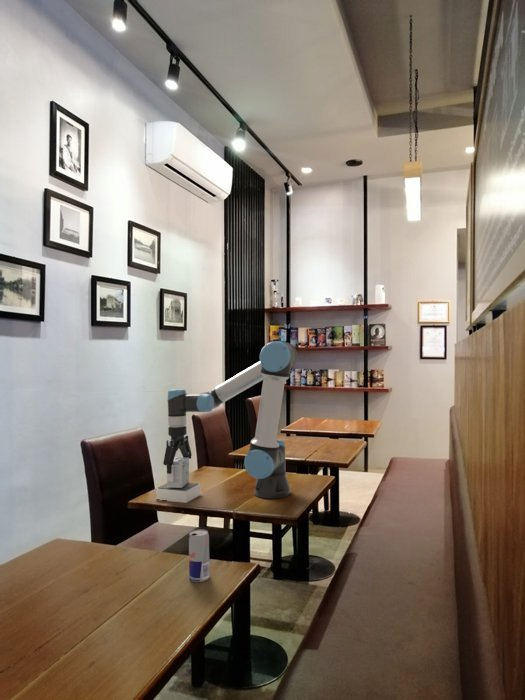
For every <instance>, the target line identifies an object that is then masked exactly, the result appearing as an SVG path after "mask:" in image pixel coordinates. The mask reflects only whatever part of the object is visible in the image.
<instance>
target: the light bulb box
mask: <svg viewBox="0 0 525 700" xmlns="http://www.w3.org/2000/svg"><path fill="white" fill-rule="evenodd" d="M172 465H174V481H173V482H171V481H167V480H166V481H167V483H166V484H167V487H172V488H182V487H183V486H185V485H186V484H187V483H190V482H189V481H190V459H189V457H183V456H182V457H181V456H180V457H179V456H175V458H174V461H173V464H172Z"/></svg>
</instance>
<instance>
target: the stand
mask: <svg viewBox="0 0 525 700" xmlns="http://www.w3.org/2000/svg"><path fill="white" fill-rule="evenodd" d="M155 492H156V499H160V500H159V501H162V500H167V501H166V502H175V503H189V502H190V501H192V500H194V499H196V498H198V497H200V496H201V484H200V483H199V482H188V483H187V484H186V485H185V486H183V487H182V488H172V487H167V483H165V484H163V485H160V486H159V487H157V488H156V491H155Z"/></svg>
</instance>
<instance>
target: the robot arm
mask: <svg viewBox="0 0 525 700" xmlns="http://www.w3.org/2000/svg"><path fill="white" fill-rule="evenodd" d="M297 360H298V352H297V349H296V348H295V347H294V345H293V344H291V343H290V342H287V341H280V340H275V341H274V340H273V341H270V342H268V343H266V344H265V345H264V346H263V347H262V348H261V351H260V353H259V361H257V362H256V363H254V364H252V365H251V366H249V367H247V368H246V369H244V370H242V371H240V372H239V373H237V374H236V375H234V376H233V377H231V378H229V379H227V380H226V381H224V382H222V383H221V384H219V385H217V386H215V387H214V388H212V389H211V390H209V391H205V392H200V393H187V390H186V389H185V388H173V389H172V388H171V389H168V392H167V399H166V400H167V415H168V416H167V421H168V425H167V426H168V428H167V429H168V430H167V432H168V436H169V437H171V438H170V440H167V439H166V448H165V452H164V456H163V457H164V458H163V461H162V462H163V465H164V466H166V481H171V482H173V481H174V465H172V464H173V461H174V458H175V457H176V454H177V451H180V454H181V455H182V457H189V460H190V459H192V455H193V454H192V450H191V447H190V442H189V436H188V435H187V432H188V431H187V413H189V412H191V413H197V412H198V413H210V412H212V411H213V410H214V409H216V408H218V407H220V406H221V405H222V404H223V403H225V402H227V401H229V400H231V399H232V398H234V397H236V396H237V395H239V394H240V393H242V392H244V391H246V390H247V389H249V388H251V387H253V386H254V385H256V384H258V383H260V382H262V386H261V394H260V398H259V399H260V400H259V401H260V402H259V406H258V407H259V408H258V414H257V419H256V420H257V421H256V427H255V434H254V435H255V436H254V437H253V438H252V439H251V440H250V442H249V449H248V452H247V453H246V455H245V457H244V462H243V463H244V464H243V466H244V468H245V470H246V472H247V473H248V475H250V477H252V478H254V479H256V483H255V486H254V495H255V497H258V498H262V499H271V500H272V499H281V498H286V497H288V496H290V495H291V487H290V483H289V482H288V479H287V475H286V474H287V473H286V443H285V441H284V440H283V439H277V437H278V433H279V424H280V416H281V410H282V405H283V404H282V402H283V397H284V392H285V391H284V389H285V382H286V381H287V380H289V378H290V375H291V371H292V370H291V369H292V367H294V365H295V364H296V362H297ZM289 494H290V495H289Z"/></svg>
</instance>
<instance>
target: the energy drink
mask: <svg viewBox="0 0 525 700" xmlns="http://www.w3.org/2000/svg"><path fill="white" fill-rule="evenodd" d="M210 569H211V568H210V535H209V531H208V530H206V529H199V528H198V529H194V530H192V531H190V532H189V533H188V571H189V572H188V573H189V574H188V577H189V580H190V581H191V582H193V583H204V582H207V581H208V580H209V579H210V578H211V575H210V574H211V573H210V572H211V571H210Z"/></svg>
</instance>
